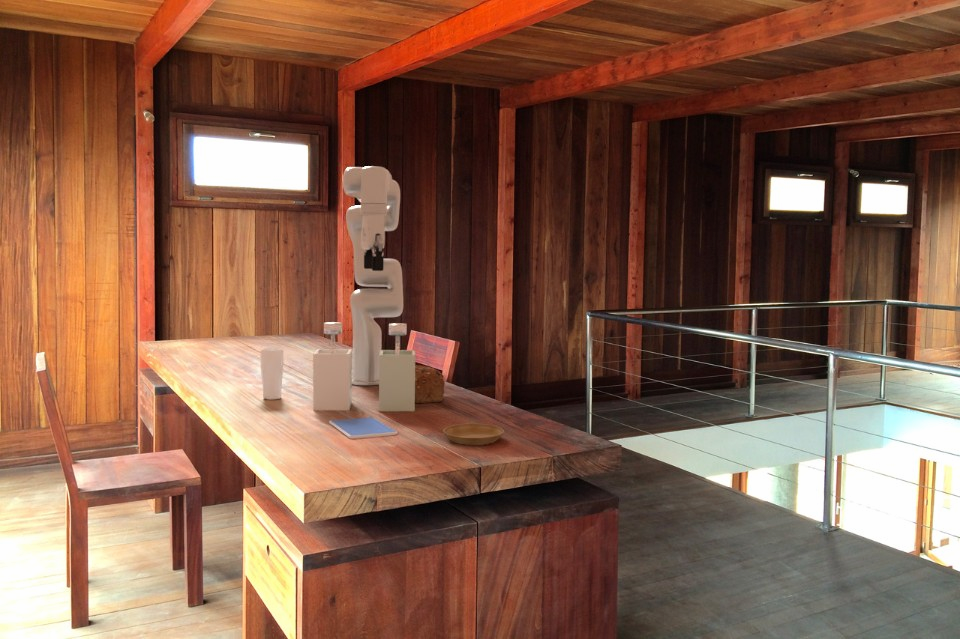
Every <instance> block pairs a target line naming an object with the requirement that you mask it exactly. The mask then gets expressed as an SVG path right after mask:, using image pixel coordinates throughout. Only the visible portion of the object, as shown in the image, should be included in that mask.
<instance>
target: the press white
mask: <svg viewBox="0 0 960 639" xmlns="http://www.w3.org/2000/svg"><path fill="white" fill-rule="evenodd" d="M312 370H313V372H312V373H313V374H312V376H313V377H312V380H313V382H312V385H313V386H312V387H313V388H312V389H313V390H312V391H313V392H312V393H313V394H312V396H313V398H312V400H313V401H312V402H313V404H312V406H313V407H312V408H313V411H350V409H351V406H352V401H353V400H352V399H353V397H352V396H353V394H352V393H353V391H352V388H353V384H352V377H353V348H347V349H346V348H344V349H343V348H342V349H341V348H340V349H339V348H335V354H331V348H316V350H315V351H314V353H313V355H312Z"/></svg>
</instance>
